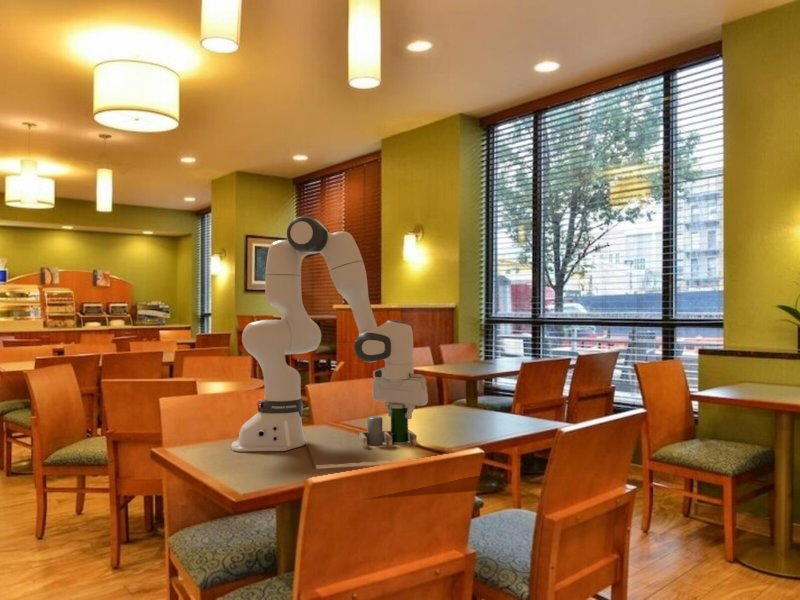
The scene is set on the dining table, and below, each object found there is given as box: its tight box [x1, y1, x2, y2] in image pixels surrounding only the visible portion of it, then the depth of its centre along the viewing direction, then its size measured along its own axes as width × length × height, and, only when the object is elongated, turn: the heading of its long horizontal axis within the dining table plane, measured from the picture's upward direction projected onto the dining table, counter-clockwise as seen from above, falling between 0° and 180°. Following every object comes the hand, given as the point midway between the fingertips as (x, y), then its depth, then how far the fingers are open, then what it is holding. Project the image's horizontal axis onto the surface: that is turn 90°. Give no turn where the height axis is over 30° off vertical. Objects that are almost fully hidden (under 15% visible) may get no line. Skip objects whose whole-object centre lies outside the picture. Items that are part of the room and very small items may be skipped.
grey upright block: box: [366, 416, 383, 446], centre depth 181 cm, size 5×5×8 cm
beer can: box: [390, 403, 409, 445], centre depth 183 cm, size 5×5×12 cm
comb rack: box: [358, 429, 418, 449], centre depth 182 cm, size 16×9×4 cm, turn 103°
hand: (399, 417), depth 183 cm, fingers open, 5 cm apart
